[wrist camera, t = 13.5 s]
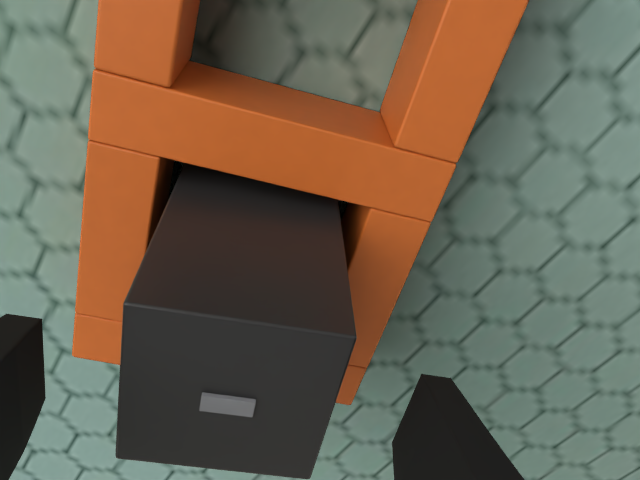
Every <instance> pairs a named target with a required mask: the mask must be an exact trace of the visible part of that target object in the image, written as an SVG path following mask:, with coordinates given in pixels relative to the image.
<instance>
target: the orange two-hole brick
mask: <svg viewBox="0 0 640 480" xmlns="http://www.w3.org/2000/svg"><path fill="white" fill-rule="evenodd" d="M528 2H529V0H418V2H417V4H416V7H415V10H414V13H413V16H412V19H411V22H410V25H409V28H408V30H407V33H406V36H405V39H404V42H403V45H402V48H401V51H400V53H399V56H398V59H397V62H396V65H395V68H394V71H393V74H392V77H391V79H390V82H389V85H388V88H387V91H386V94H385V97H384V100H383V103H382V105H381V108H380V112H381V113H380V112H376V111H373V110H369V109H365V108H362V107H358V106H354V105H351V104H347V103H343V102H340V101H336V100H332V99H329V98H325V97H321V96H318V95H314V94H310V93H307V92H303V91H299V90H296V89H292V88H288V87H284V86H281V85H277V84H273V83H270V82H266V81H262V80H259V79H255V78H251V77H248V76H244V75H240V74H237V73H233V72H229V71H226V70H222V69H218V68H215V67H211V66H207V65H204V64H200V63H196V62H193V61H189V60H190V58H191V54H192V47H193V41H194V35H195V29H196V23H197V16H198V10H199V4H200V0H99V4H98V17H97V30H96V44H95V57H94V66H95V68H96V69H94V71H93V79H92V92H91V106H90V119H89V132H88V138H89V141H88V146H87V160H86V173H85V186H84V200H83V213H82V227H81V240H80V253H79V267H78V280H77V293H76V307H75V312H76V313H75V322H74V336H73V349H72V355H73V356H74V357H78V358H84V359H89V360H95V361H101V362H106V363H112V364H118V365H120V358H121V338H122V318H123V303H124V301H125V298H126V296H127V294H128V292H129V289H130V287H131V285H132V282H133V280H134V278H135V276H136V273H137V271H138V269H139V266H140V264H141V262H142V260H143V257H144V255H145V253H146V250H147V248H148V246H149V244H150V241H151V239H152V237H153V234H154V232H155V230H156V228H157V225H158V223H159V221H160V218H161V216H162V214H163V212H164V209H165V207H166V205H167V202H168V197H169V191H170V185H171V178H172V172H173V166H174V160H175V161H179V162H183V163H188V164H192V165H196V166H200V167H204V168H208V169H213V170H217V171H221V172H225V173H229V174H233V175H238V176H242V177H246V178H250V179H254V180H258V181H263V182H267V183H271V184H275V185H279V186H283V187H287V188H292V189H296V190H300V191H304V192H308V193H312V194H317V195H321V196H325V197H329V198H333V199H337V200H342V201H346V202H348V204H347V206H346V209H345V212H344V215H343V218H342V221H341V226H342V233H343V241H344V248H345V255H346V263H347V270H348V277H349V284H350V292H351V299H352V306H353V314H354V321H355V328H356V336H357V339H356V342H355V345H354V348H353V351H352V354H351V357H350V360H349V363H348V366H347V369H346V372H345V375H344V378H343V381H342V384H341V387H340V390H339V393H338V396H337V399H336V402H335V403H340V404H346V405H351V403H352V401H353V399H354V397H355V394H356V392H357V390H358V388H359V385H360V383H361V381H362V378H363V376H364V374H365V372H366V369H367V367H368V365H369V363H370V361H371V358H372V356H373V354H374V352H375V349H376V347H377V345H378V343H379V340H380V338H381V336H382V333H383V331H384V329H385V327H386V324H387V322H388V320H389V318H390V315H391V313H392V311H393V308H394V306H395V304H396V302H397V299H398V297H399V295H400V293H401V290H402V288H403V286H404V284H405V281H406V279H407V277H408V274H409V272H410V270H411V268H412V265H413V263H414V261H415V259H416V256H417V254H418V252H419V250H420V247H421V245H422V243H423V240H424V238H425V236H426V234H427V231H428V229H429V227H430V225H431V222H432V220H433V218H434V216H435V213H436V211H437V209H438V207H439V204H440V202H441V200H442V198H443V195H444V193H445V191H446V189H447V186H448V184H449V182H450V179H451V177H452V175H453V173H454V170H455V168H456V163H457V162H458V161H459V158H460V156H461V154H462V152H463V149H464V147H465V145H466V143H467V140H468V138H469V136H470V133H471V131H472V129H473V127H474V124H475V122H476V120H477V118H478V115H479V113H480V111H481V108H482V106H483V104H484V102H485V99H486V97H487V95H488V93H489V90H490V88H491V86H492V84H493V81H494V79H495V77H496V74H497V72H498V70H499V68H500V65H501V63H502V61H503V59H504V56H505V54H506V52H507V49H508V47H509V45H510V43H511V40H512V38H513V36H514V34H515V31H516V29H517V27H518V25H519V22H520V20H521V18H522V15H523V13H524V11H525V9H526V6H527V4H528Z"/></svg>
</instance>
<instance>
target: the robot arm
mask: <svg viewBox="0 0 640 480" xmlns="http://www.w3.org/2000/svg"><path fill="white" fill-rule="evenodd" d="M44 401H45V378H44V355H43V333H42V319H39V318H32V317H25V316H18V315H11V314H6V315H4V316H2V317H1V318H0V480H9V478H10V476H11V474H12V472H13V471H14V469H15V467H16V465H17V463H18V461H19V460H20V458H21V456H22V454H23V452H24V450H25V448H26V445H27V443H28V440H29V438H30V436H31V433H32V431H33V428H34V426H35V423H36V421H37V418H38V416H39V413H40V411H41V408H42V406H43V403H44ZM392 447H393V466H394V480H524V478H523V477H522V476H521V475H520V473H519V472H518V471H517V469H516V468H515V467H514V465H513V464H512V463H511V461H510V460H509V459H508V457H507V456H506V455H505V453H504V452H503V451H502V449H501V448H500V446H499V445H498V444H497V442H496V441H495V440H494V438H493V437H492V435H491V434H490V433H489V431H488V430H487V428H486V427H485V426H484V424H483V423H482V421H481V420H480V419H479V417H478V416H477V414H476V413H475V412H474V410H473V409H472V407H471V406H470V404H469V403H468V402H467V400H466V399H465V397H464V396H463V394H462V393H461V392H460V390H459V389H458V387H457V386H456V385H455V383H454V382H453V381H452V379H451V378H446V377H439V376H432V375H425V374H421V376H420V379H419V381H418V383H417V386H416V388H415V390H414V393H413V395H412V397H411V400H410V402H409V404H408V407H407V409H406V411H405V414H404V416H403V418H402V421H401V423H400V425H399V428H398V430H397V432H396V435H395V437H394V439H393V441H392Z"/></svg>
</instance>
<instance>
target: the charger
mask: <svg viewBox="0 0 640 480" xmlns="http://www.w3.org/2000/svg"><path fill="white" fill-rule="evenodd" d="M356 339H357V336H356V328H355V321H354V314H353V306H352V299H351V292H350V284H349V277H348V270H347V263H346V255H345V248H344V241H343V233H342V226H341V219H340V211H339V204H338V200H337V199H333V198H329V197H325V196H321V195H317V194H312V193H308V192H304V191H300V190H296V189H292V188H287V187H283V186H279V185H275V184H271V183H267V182H263V181H258V180H254V179H250V178H246V177H242V176H238V175H233V174H229V173H225V172H221V171H217V170H213V169H208V168H204V167H200V166H196V165H192V164H188V163H184V166H183V168H182V170H181V173H180V175H179V177H178V179H177V182H176V184H175V186H174V189H173V191H172V193H171V196H170V198H169V200H168V202H167V205H166V207H165V209H164V212H163V214H162V216H161V218H160V221H159V223H158V225H157V228H156V230H155V232H154V234H153V237H152V239H151V241H150V244H149V246H148V248H147V250H146V253H145V255H144V257H143V260H142V262H141V264H140V266H139V269H138V271H137V273H136V276H135V278H134V280H133V282H132V285H131V287H130V289H129V292H128V294H127V296H126V298H125V301H124V303H123V318H122V338H121V358H120V377H119V397H118V417H117V436H116V458H118V459H127V460H136V461H146V462H155V463H164V464H173V465H182V466H191V467H200V468H210V469H219V470H228V471H237V472H246V473H255V474H264V475H273V476H283V477H292V478H301V479H310V477H311V475H312V472H313V468H314V465H315V462H316V459H317V456H318V453H319V450H320V447H321V444H322V441H323V438H324V435H325V432H326V429H327V426H328V423H329V420H330V417H331V414H332V411H333V408H334V405H335V402H336V399H337V396H338V393H339V390H340V387H341V384H342V381H343V378H344V375H345V372H346V369H347V366H348V363H349V360H350V357H351V354H352V351H353V348H354V345H355V342H356Z"/></svg>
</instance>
